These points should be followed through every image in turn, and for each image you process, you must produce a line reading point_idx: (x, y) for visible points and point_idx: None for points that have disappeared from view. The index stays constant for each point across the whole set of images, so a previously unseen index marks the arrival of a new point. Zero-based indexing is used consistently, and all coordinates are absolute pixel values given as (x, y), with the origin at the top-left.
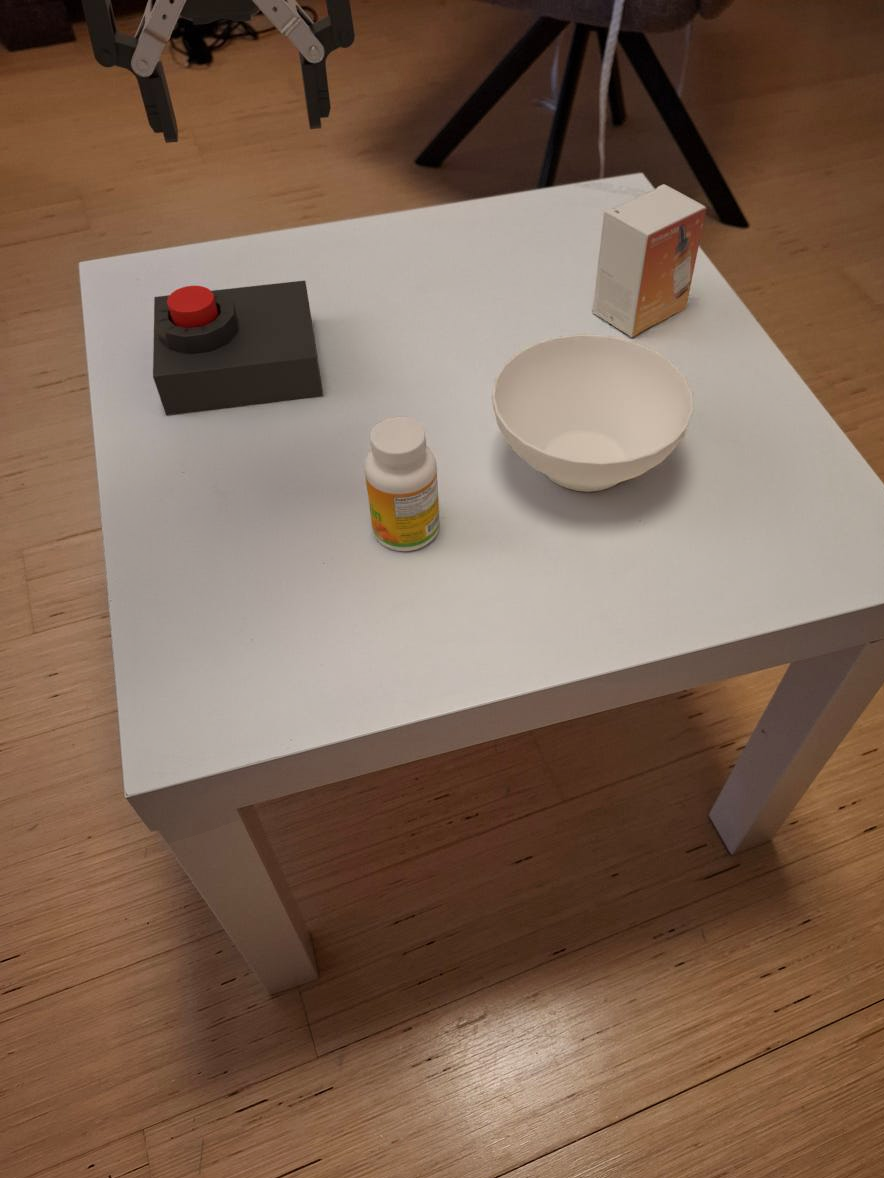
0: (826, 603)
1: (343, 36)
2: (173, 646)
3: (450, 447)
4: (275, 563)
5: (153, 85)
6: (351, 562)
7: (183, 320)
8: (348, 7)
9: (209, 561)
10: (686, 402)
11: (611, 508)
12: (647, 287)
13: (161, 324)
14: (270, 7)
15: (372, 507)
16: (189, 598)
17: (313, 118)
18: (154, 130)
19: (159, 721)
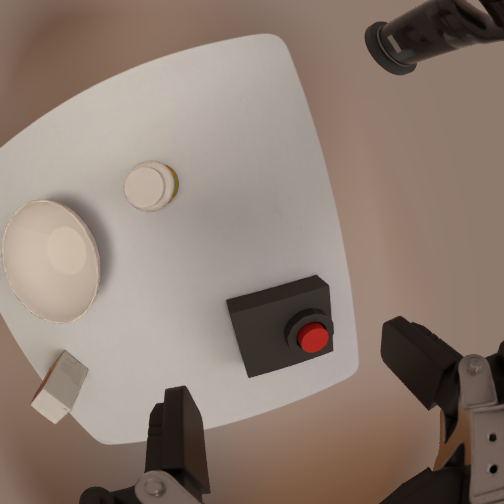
0: None
1: (93, 502)
2: (282, 98)
3: (139, 258)
4: (235, 152)
5: (447, 356)
6: (189, 155)
7: (317, 325)
8: None
9: (274, 155)
10: (8, 267)
11: None
12: (52, 369)
13: (329, 322)
14: None
15: (172, 171)
16: (280, 128)
17: (175, 396)
18: (414, 323)
19: (278, 58)
